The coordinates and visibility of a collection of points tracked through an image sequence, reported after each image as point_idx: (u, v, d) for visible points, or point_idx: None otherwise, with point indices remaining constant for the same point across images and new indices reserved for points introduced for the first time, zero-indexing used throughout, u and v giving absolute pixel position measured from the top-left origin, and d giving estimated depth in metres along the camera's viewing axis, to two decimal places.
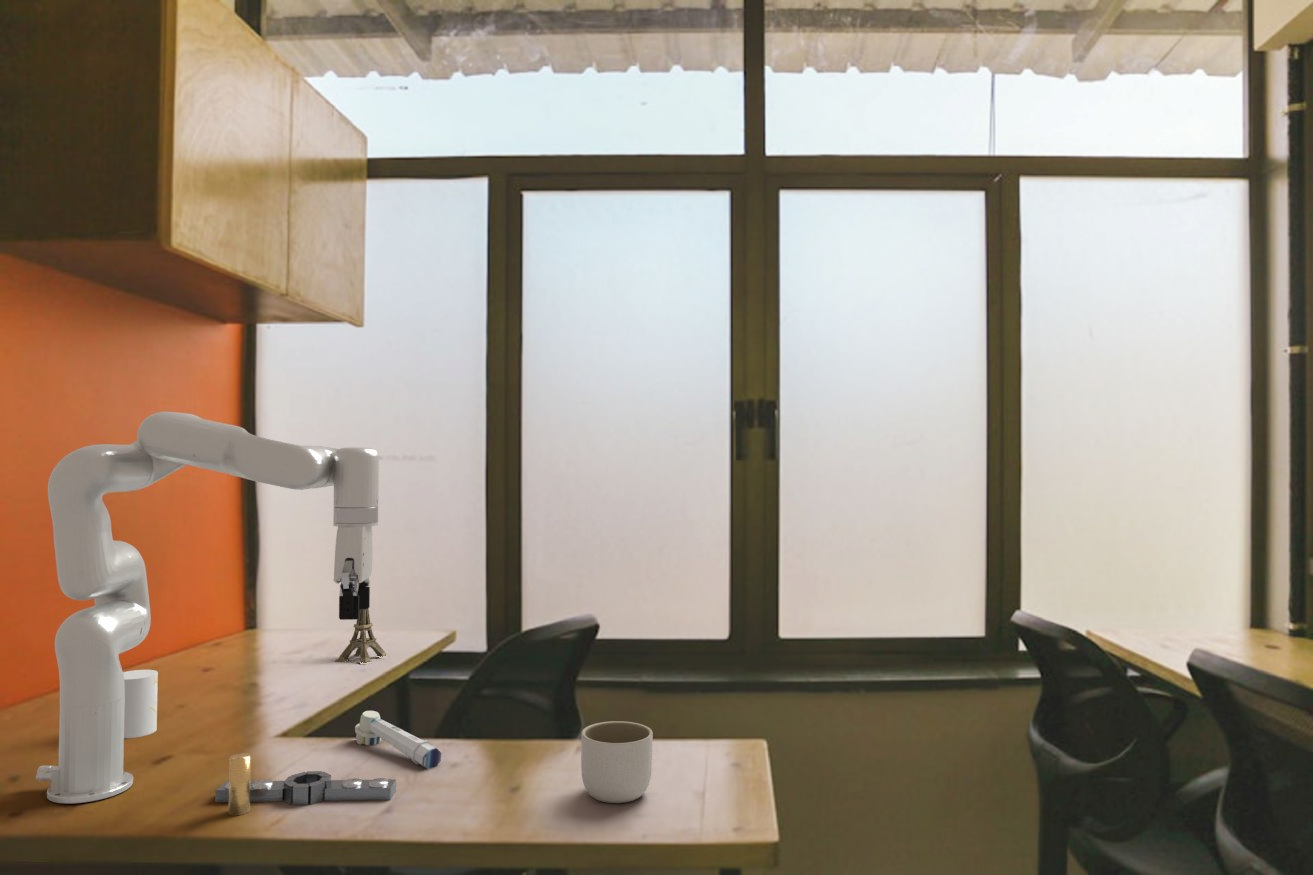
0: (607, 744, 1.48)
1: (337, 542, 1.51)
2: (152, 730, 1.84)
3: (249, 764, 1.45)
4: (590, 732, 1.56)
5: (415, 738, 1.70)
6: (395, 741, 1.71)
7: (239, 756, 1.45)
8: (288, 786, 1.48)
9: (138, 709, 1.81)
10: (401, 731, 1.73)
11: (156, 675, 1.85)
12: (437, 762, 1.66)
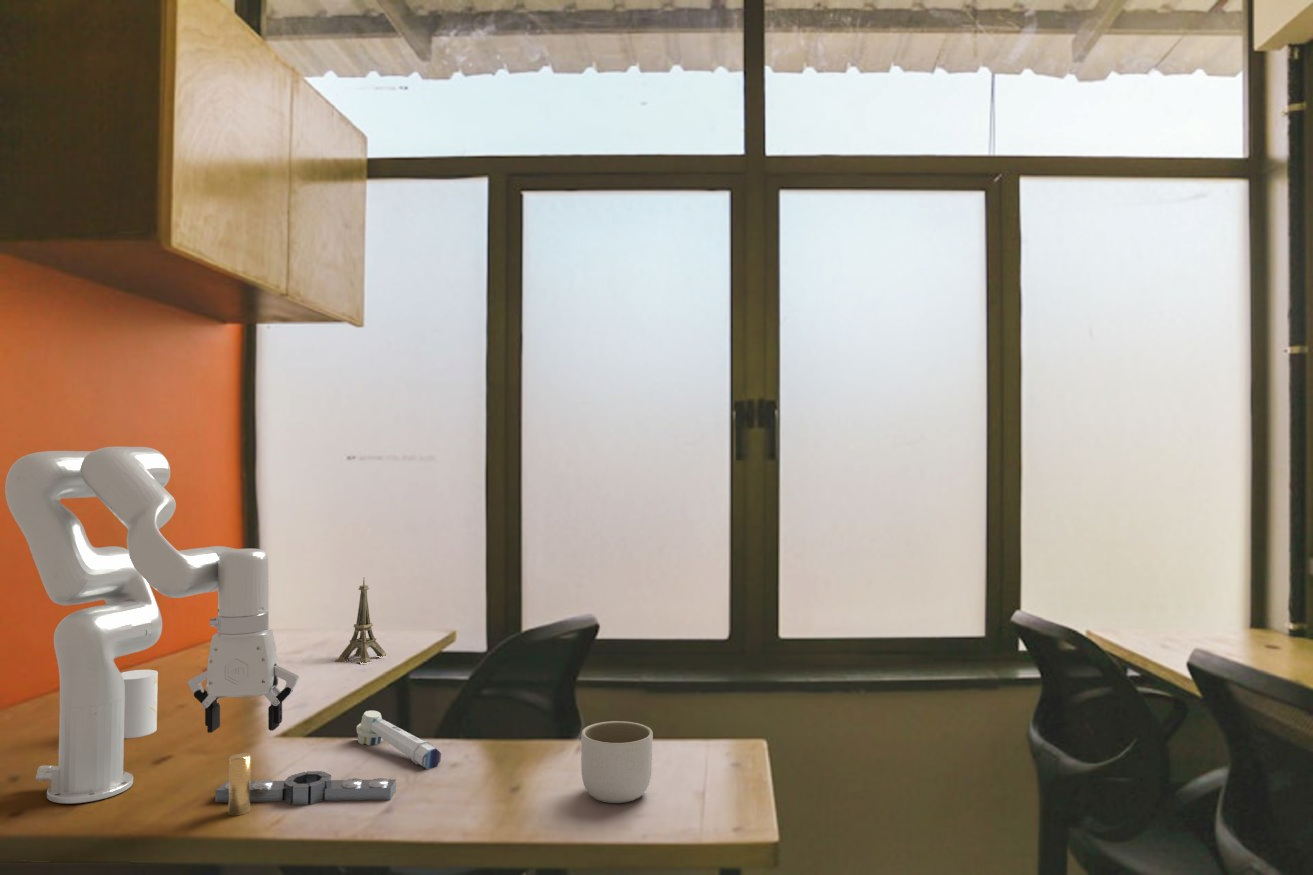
0: (607, 744, 1.48)
1: (267, 650, 1.43)
2: (152, 730, 1.84)
3: (249, 764, 1.45)
4: (590, 732, 1.56)
5: (415, 738, 1.70)
6: (395, 741, 1.71)
7: (239, 756, 1.45)
8: (288, 786, 1.48)
9: (138, 709, 1.81)
10: (402, 731, 1.73)
11: (156, 675, 1.85)
12: (436, 762, 1.66)
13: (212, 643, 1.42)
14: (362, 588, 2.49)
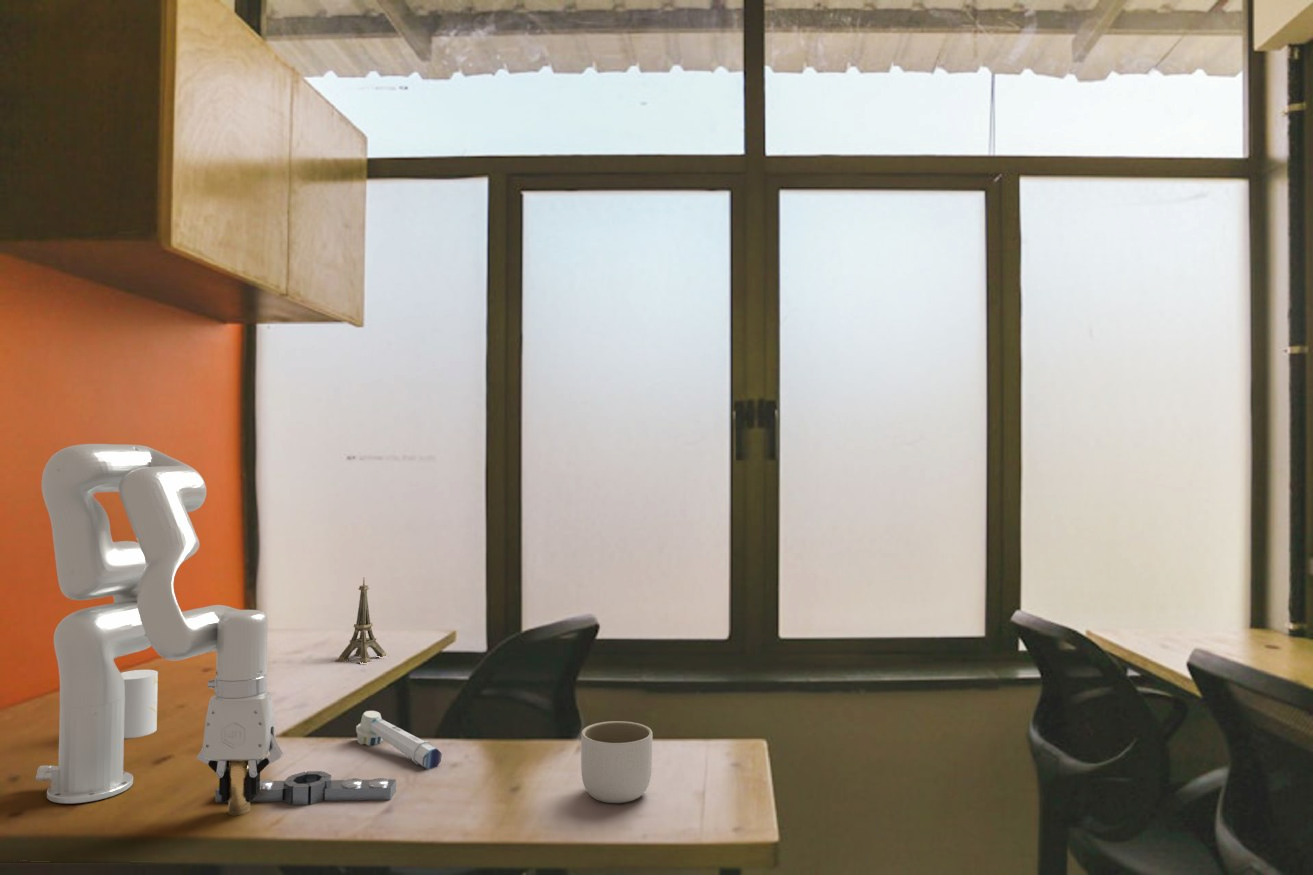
0: (607, 744, 1.48)
1: (264, 714, 1.43)
2: (152, 730, 1.84)
3: None
4: (590, 732, 1.56)
5: (415, 738, 1.70)
6: (395, 741, 1.71)
7: None
8: (288, 786, 1.48)
9: (138, 709, 1.81)
10: (402, 731, 1.73)
11: (156, 675, 1.85)
12: (437, 762, 1.66)
13: (210, 706, 1.42)
14: (362, 588, 2.49)
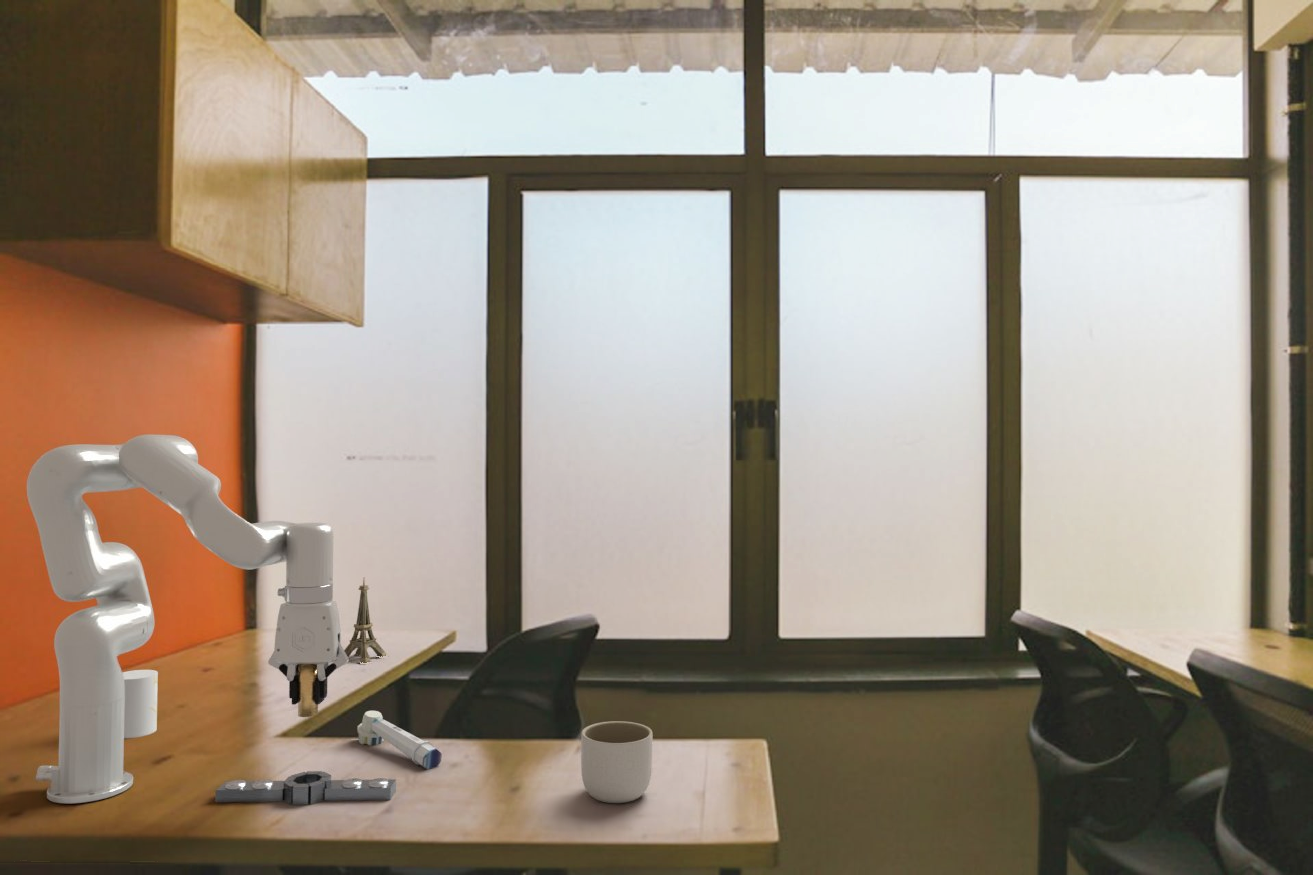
0: (607, 744, 1.48)
1: (332, 620, 1.50)
2: (152, 730, 1.84)
3: None
4: (590, 732, 1.56)
5: (416, 738, 1.69)
6: (396, 741, 1.71)
7: None
8: (288, 786, 1.48)
9: (138, 709, 1.81)
10: (402, 731, 1.72)
11: (156, 675, 1.85)
12: (437, 763, 1.66)
13: (280, 612, 1.49)
14: (362, 588, 2.49)
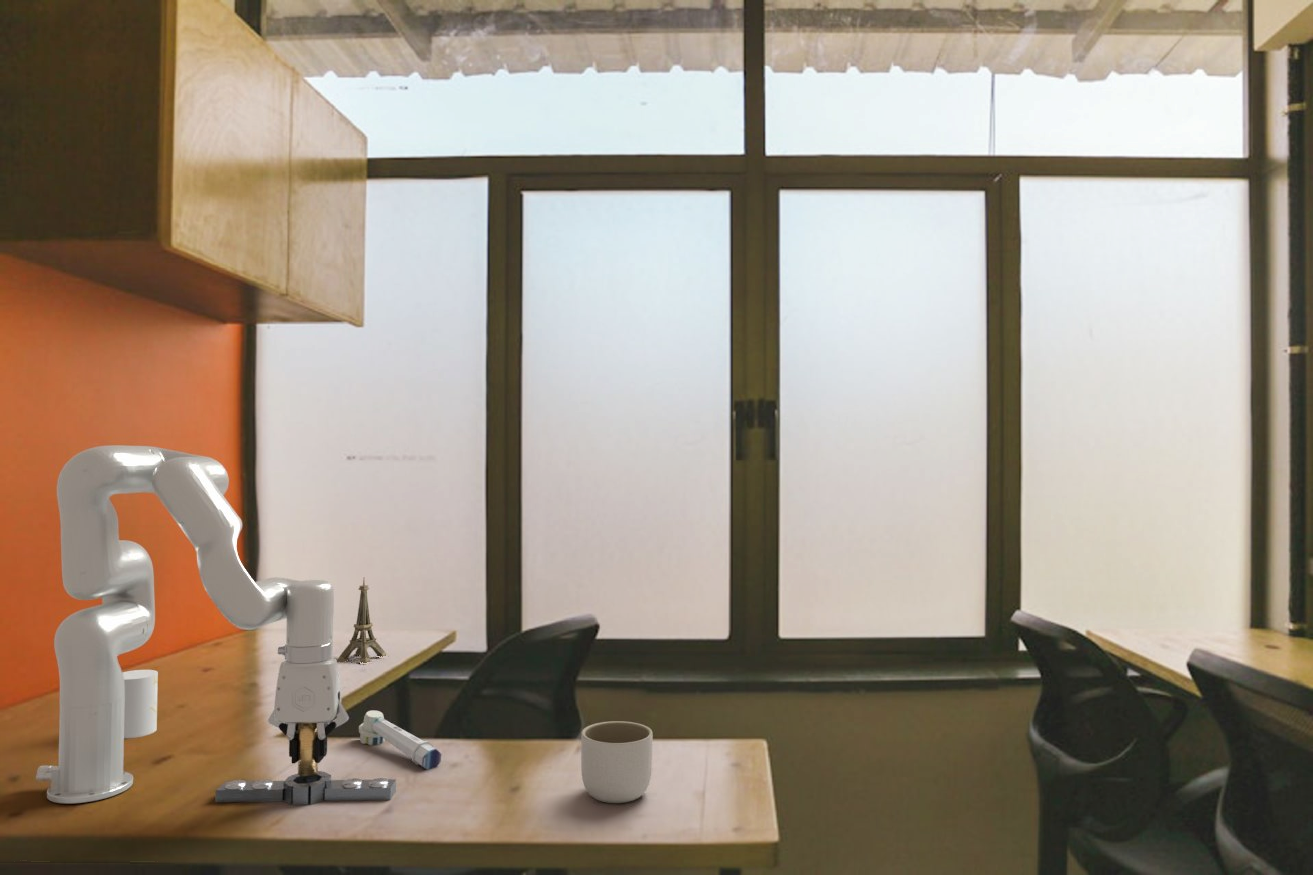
0: (607, 744, 1.48)
1: (332, 679, 1.50)
2: (152, 730, 1.84)
3: None
4: (590, 732, 1.56)
5: (416, 739, 1.69)
6: (396, 741, 1.71)
7: None
8: (288, 786, 1.48)
9: (138, 709, 1.81)
10: (403, 731, 1.72)
11: (156, 675, 1.85)
12: (437, 763, 1.66)
13: (280, 671, 1.49)
14: (362, 588, 2.49)
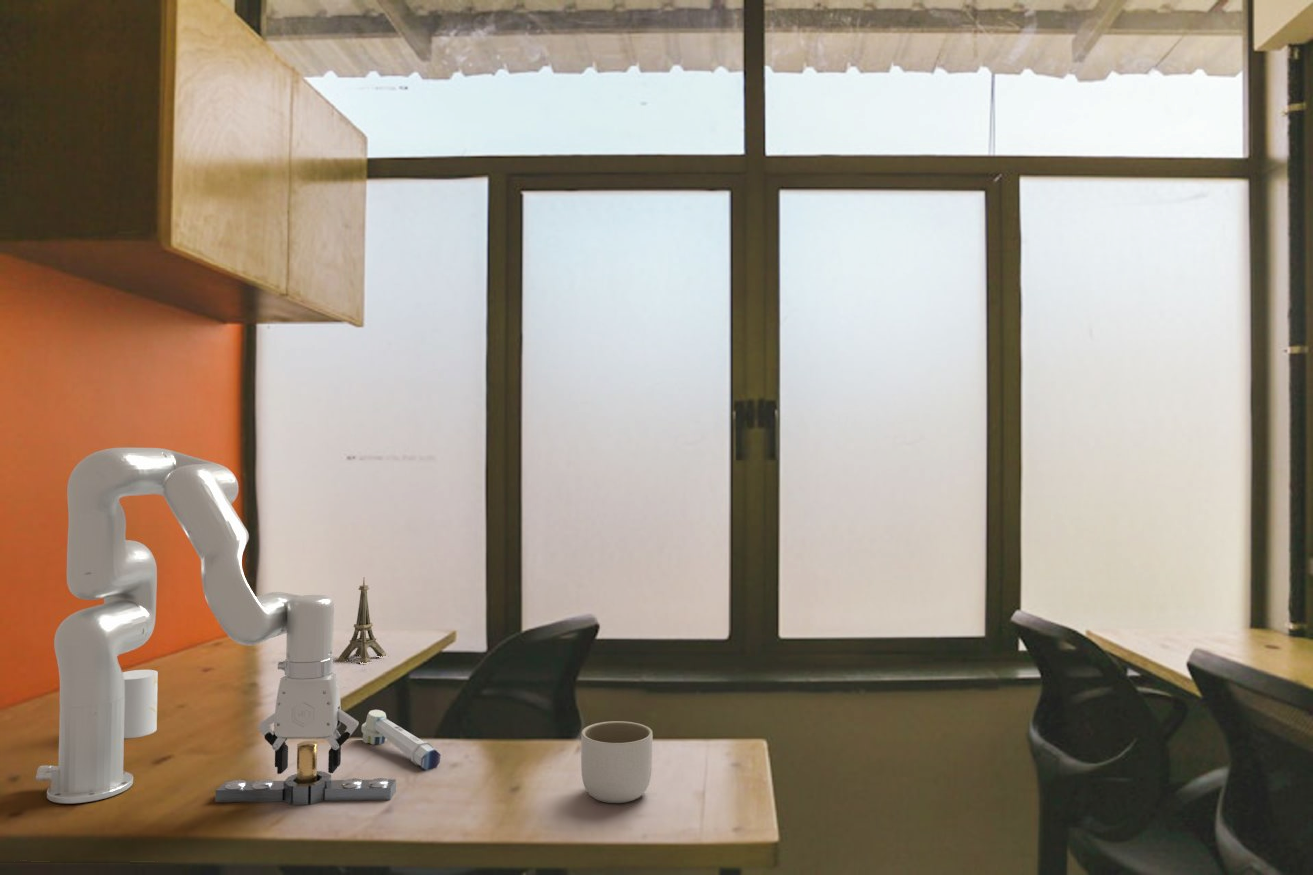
0: (607, 744, 1.48)
1: (332, 694, 1.50)
2: (152, 730, 1.84)
3: (316, 751, 1.51)
4: (590, 732, 1.56)
5: (416, 739, 1.69)
6: (397, 741, 1.71)
7: (306, 743, 1.51)
8: (288, 786, 1.48)
9: (138, 709, 1.81)
10: (403, 731, 1.73)
11: (156, 675, 1.85)
12: (436, 763, 1.66)
13: (280, 686, 1.49)
14: (362, 588, 2.49)
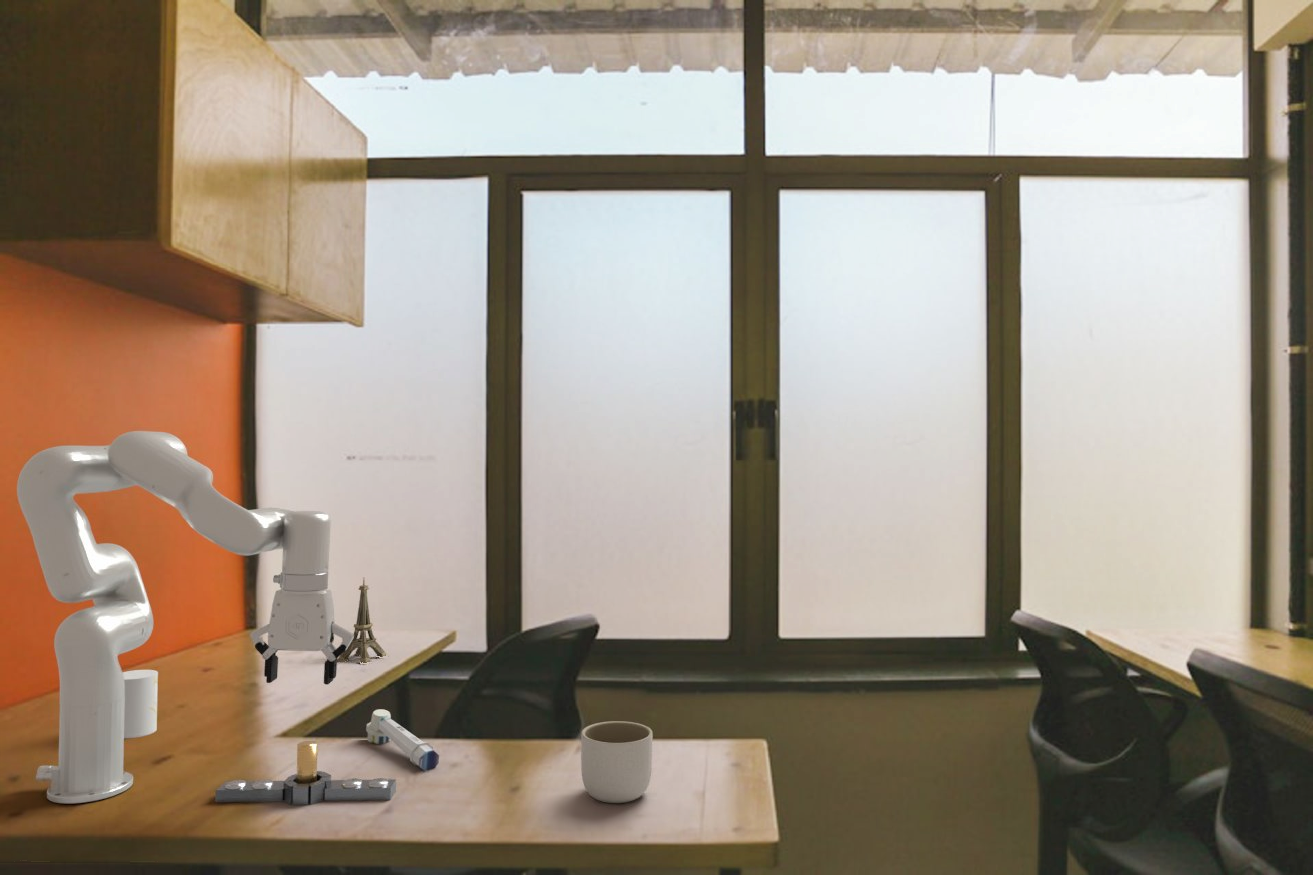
0: (607, 744, 1.48)
1: (326, 608, 1.51)
2: (152, 730, 1.84)
3: (316, 751, 1.51)
4: (590, 732, 1.56)
5: (416, 739, 1.69)
6: (398, 741, 1.71)
7: (306, 743, 1.51)
8: (288, 786, 1.48)
9: (138, 709, 1.81)
10: (405, 731, 1.73)
11: (156, 675, 1.85)
12: (434, 764, 1.65)
13: (275, 598, 1.50)
14: (362, 588, 2.49)
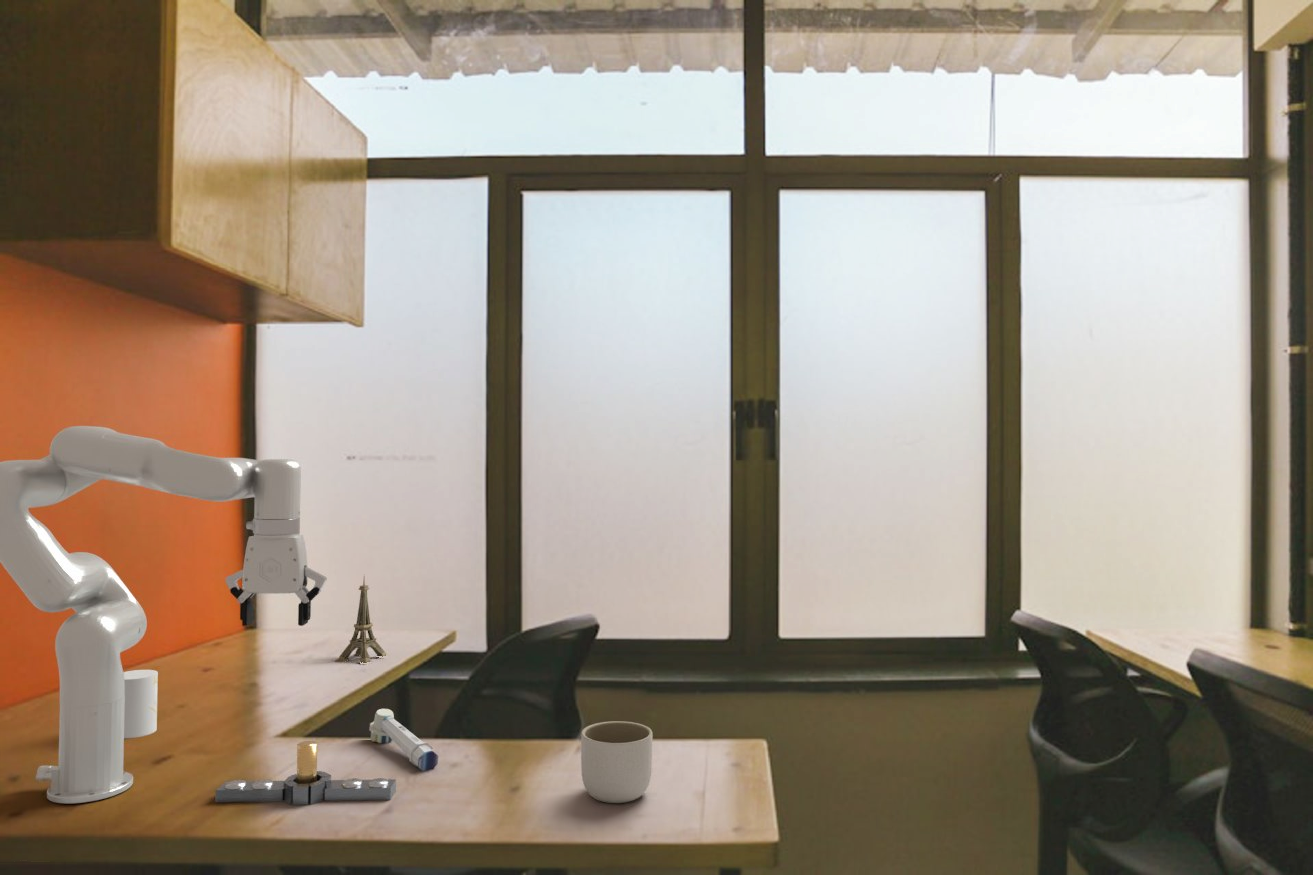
0: (607, 744, 1.48)
1: (298, 552, 1.55)
2: (152, 730, 1.84)
3: (316, 751, 1.51)
4: (590, 732, 1.56)
5: (416, 739, 1.69)
6: (398, 741, 1.71)
7: (306, 743, 1.51)
8: (288, 786, 1.48)
9: (138, 709, 1.81)
10: (406, 731, 1.73)
11: (156, 675, 1.85)
12: (433, 765, 1.65)
13: (248, 543, 1.55)
14: (362, 588, 2.49)
